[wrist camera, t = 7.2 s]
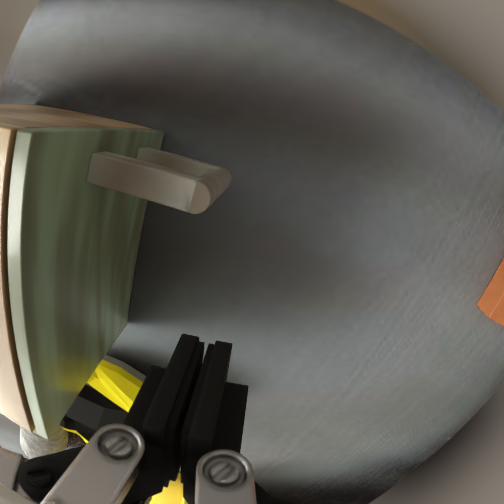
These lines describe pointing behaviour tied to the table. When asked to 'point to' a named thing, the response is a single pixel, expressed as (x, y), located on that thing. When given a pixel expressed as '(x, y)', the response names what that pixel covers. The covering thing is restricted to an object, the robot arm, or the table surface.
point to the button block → (494, 297)
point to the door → (84, 246)
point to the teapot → (170, 493)
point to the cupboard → (3, 139)
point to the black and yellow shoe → (103, 398)
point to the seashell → (43, 442)
